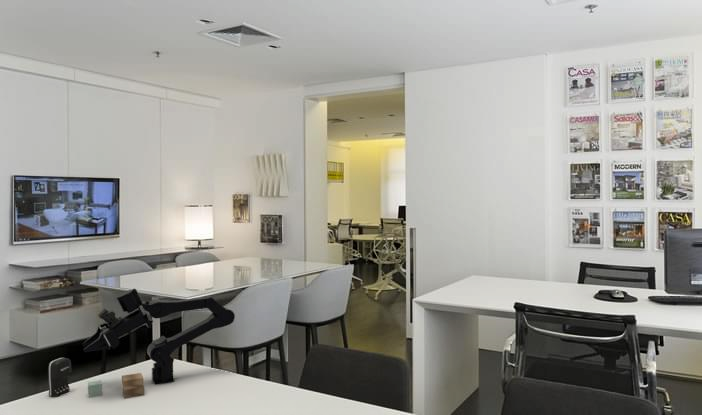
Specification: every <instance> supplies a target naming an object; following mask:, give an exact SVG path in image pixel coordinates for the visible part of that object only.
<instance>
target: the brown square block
mask: <svg viewBox="0 0 702 415" xmlns="http://www.w3.org/2000/svg"><path fill="white" fill-rule="evenodd" d="M121 386H122V391H123V390H128V389H134V388H140V387H143V386H144V377H143V373H142V372H137V373H132V374H131V373H130V374H123V375H121Z"/></svg>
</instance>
